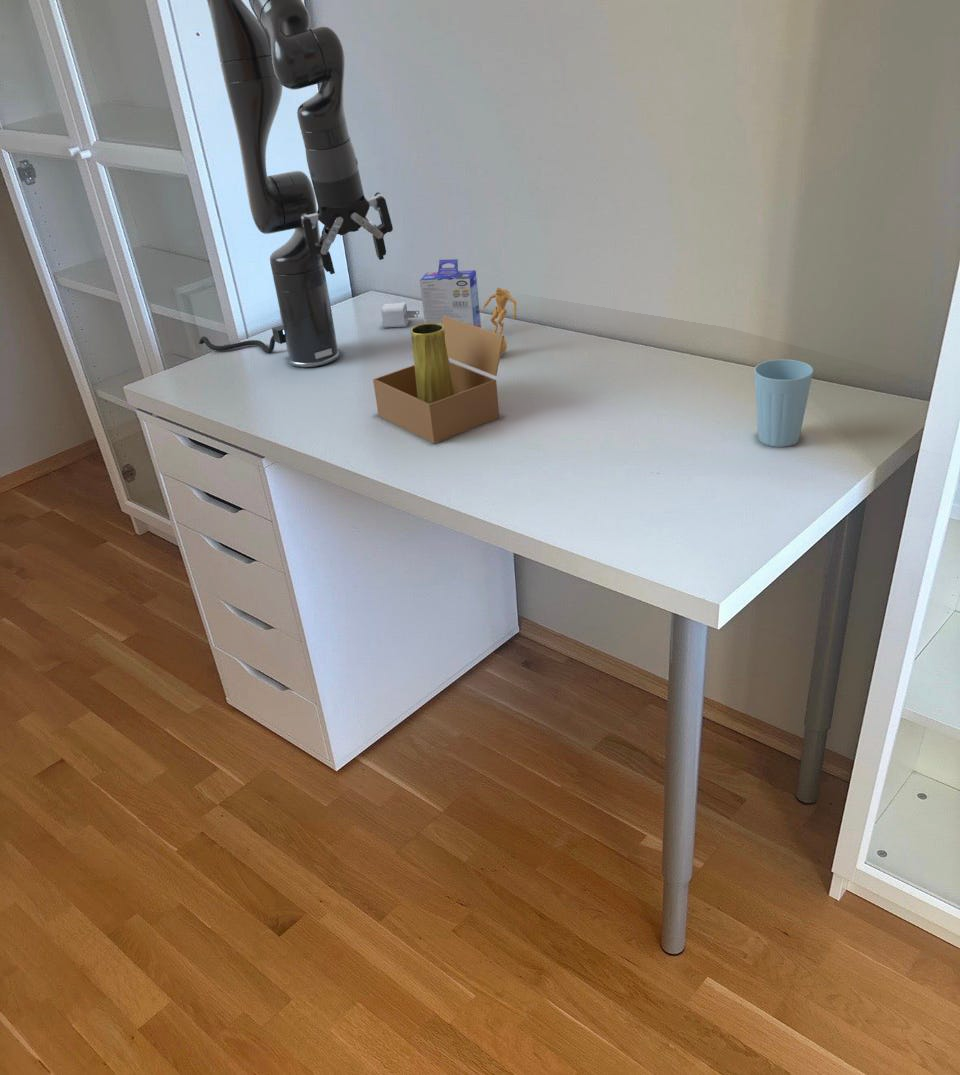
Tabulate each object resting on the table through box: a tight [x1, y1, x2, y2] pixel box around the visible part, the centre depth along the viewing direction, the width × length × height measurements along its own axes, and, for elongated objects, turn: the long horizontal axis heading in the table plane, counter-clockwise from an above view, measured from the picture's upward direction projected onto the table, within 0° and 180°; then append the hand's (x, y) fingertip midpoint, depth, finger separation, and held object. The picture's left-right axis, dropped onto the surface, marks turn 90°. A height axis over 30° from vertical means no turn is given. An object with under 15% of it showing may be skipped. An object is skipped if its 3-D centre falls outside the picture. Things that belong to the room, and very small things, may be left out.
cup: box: [753, 358, 814, 448], centre depth 137 cm, size 8×8×10 cm
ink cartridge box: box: [419, 258, 482, 328], centre depth 185 cm, size 10×6×14 cm, turn 78°
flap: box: [442, 316, 505, 377], centre depth 156 cm, size 16×6×1 cm
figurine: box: [481, 287, 517, 357], centre depth 176 cm, size 8×6×12 cm
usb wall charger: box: [381, 302, 420, 329], centre depth 198 cm, size 4×7×4 cm, turn 84°
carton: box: [372, 361, 500, 445], centre depth 156 cm, size 16×13×6 cm
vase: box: [410, 322, 454, 404], centre depth 153 cm, size 6×6×14 cm
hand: (356, 265), depth 165 cm, fingers open, 8 cm apart
